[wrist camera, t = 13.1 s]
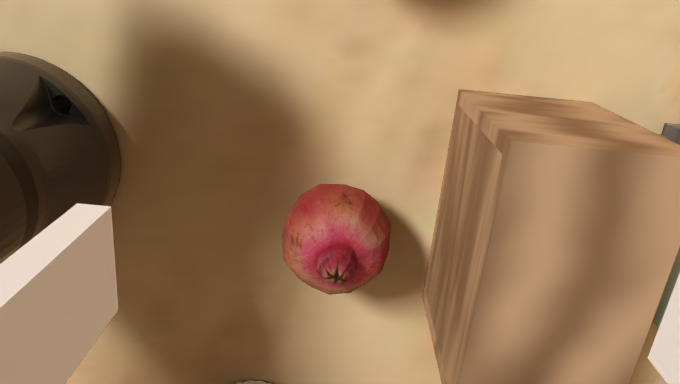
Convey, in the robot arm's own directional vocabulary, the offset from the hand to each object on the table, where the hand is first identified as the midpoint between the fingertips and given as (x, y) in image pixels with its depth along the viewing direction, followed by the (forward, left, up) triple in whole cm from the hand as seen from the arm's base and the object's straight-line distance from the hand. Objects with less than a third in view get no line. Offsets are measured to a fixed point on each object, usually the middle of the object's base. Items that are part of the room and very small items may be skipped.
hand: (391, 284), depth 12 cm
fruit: (-1, -11, -29) cm, 31 cm away
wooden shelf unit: (+18, -9, -29) cm, 35 cm away
